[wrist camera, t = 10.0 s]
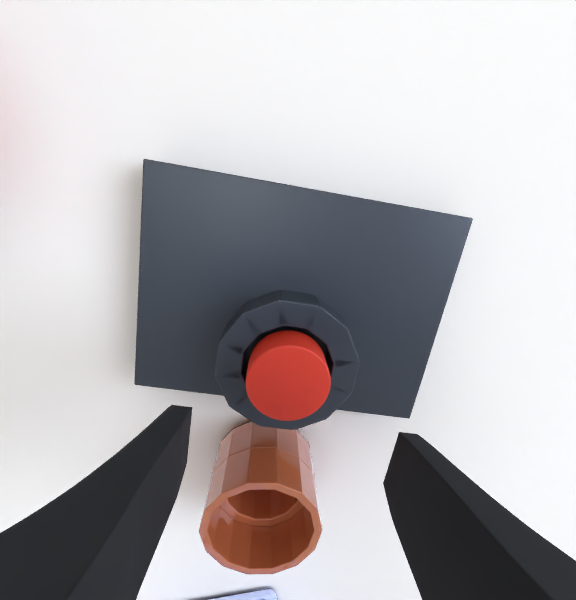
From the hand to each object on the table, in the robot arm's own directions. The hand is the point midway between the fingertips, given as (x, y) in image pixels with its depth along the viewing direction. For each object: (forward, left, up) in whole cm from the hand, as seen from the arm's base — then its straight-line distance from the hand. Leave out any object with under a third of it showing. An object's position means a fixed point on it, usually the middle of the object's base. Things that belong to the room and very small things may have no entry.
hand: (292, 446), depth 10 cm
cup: (-3, -7, -8) cm, 12 cm away
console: (+1, +2, -8) cm, 9 cm away
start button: (0, 0, -5) cm, 5 cm away
